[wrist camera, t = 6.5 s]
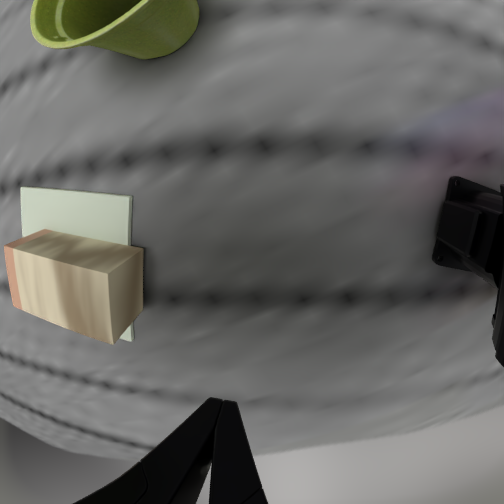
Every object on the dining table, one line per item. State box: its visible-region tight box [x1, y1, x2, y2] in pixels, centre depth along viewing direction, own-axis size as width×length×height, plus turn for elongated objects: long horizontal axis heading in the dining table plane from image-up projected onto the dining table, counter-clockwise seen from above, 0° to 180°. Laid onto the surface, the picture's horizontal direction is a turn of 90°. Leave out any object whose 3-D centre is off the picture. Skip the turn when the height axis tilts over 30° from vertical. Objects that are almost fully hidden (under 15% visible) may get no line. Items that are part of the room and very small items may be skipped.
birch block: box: [4, 229, 143, 345], centre depth 19 cm, size 5×5×10 cm
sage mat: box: [21, 186, 134, 342], centre depth 22 cm, size 12×12×1 cm
